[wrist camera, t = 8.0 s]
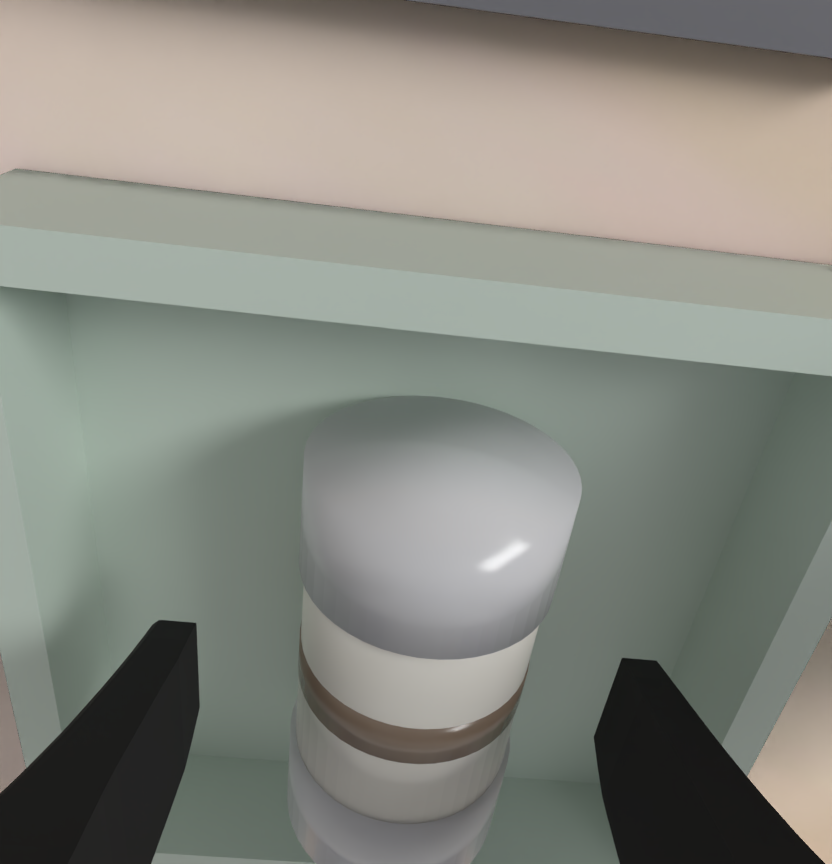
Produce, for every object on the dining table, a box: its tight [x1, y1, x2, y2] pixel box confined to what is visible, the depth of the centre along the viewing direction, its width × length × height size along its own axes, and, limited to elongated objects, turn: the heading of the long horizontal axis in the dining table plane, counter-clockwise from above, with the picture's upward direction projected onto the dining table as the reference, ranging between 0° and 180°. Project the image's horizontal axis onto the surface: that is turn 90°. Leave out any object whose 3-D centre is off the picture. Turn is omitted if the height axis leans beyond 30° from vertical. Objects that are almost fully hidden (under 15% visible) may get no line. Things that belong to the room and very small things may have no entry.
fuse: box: [287, 396, 582, 864], centre depth 13 cm, size 4×8×4 cm, turn 173°
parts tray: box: [0, 169, 832, 864], centre depth 14 cm, size 14×14×3 cm
